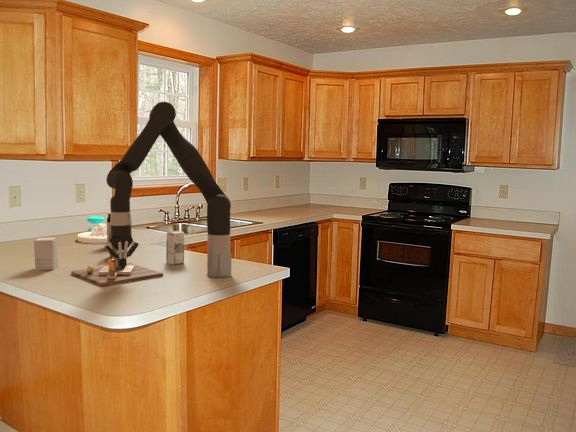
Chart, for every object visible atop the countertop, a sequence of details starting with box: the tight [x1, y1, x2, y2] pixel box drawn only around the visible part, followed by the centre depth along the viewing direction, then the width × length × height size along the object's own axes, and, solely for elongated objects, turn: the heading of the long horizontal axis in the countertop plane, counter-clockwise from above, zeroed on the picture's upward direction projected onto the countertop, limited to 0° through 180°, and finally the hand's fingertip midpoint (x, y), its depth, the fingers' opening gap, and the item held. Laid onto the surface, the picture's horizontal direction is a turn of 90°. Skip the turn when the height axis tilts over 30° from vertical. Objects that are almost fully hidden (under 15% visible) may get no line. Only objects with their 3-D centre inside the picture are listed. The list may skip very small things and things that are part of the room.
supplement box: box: [33, 237, 59, 271], centre depth 217 cm, size 7×7×13 cm
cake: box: [77, 222, 107, 245], centre depth 293 cm, size 28×28×10 cm
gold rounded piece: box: [86, 265, 94, 274], centre depth 205 cm, size 2×2×3 cm
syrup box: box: [165, 230, 185, 265], centre depth 234 cm, size 6×6×14 cm
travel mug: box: [106, 211, 111, 245], centre depth 272 cm, size 8×8×18 cm
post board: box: [70, 257, 164, 288], centre depth 209 cm, size 26×26×7 cm
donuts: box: [86, 215, 105, 232], centre depth 314 cm, size 10×10×10 cm
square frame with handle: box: [99, 258, 136, 279], centre depth 205 cm, size 19×12×7 cm, turn 9°
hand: (122, 267), depth 199 cm, fingers closed
